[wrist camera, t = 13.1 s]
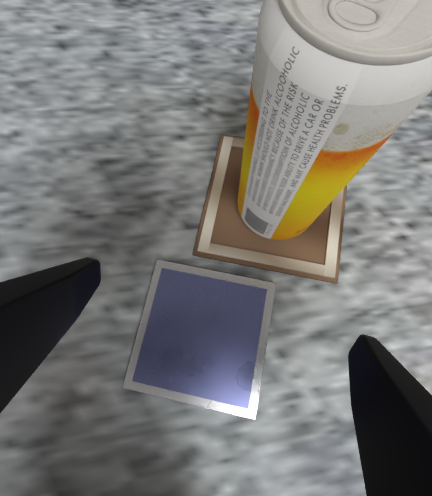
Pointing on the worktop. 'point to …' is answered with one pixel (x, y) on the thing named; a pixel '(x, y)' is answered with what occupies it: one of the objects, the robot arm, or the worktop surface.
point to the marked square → (255, 246)
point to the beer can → (326, 101)
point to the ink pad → (202, 338)
